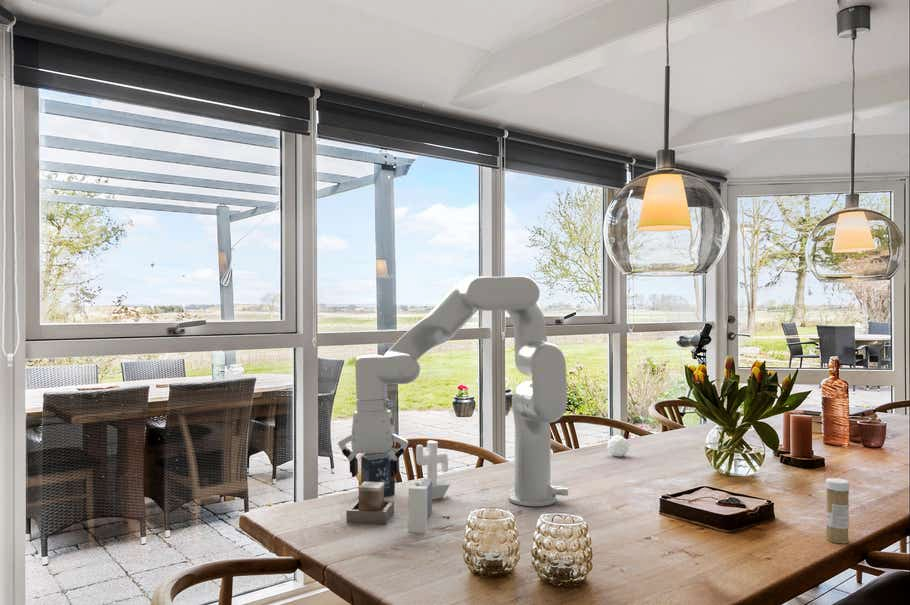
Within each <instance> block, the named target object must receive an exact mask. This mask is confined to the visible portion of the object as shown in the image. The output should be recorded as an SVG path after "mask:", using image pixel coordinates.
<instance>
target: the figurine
mask: <svg viewBox="0 0 910 605" xmlns="http://www.w3.org/2000/svg"><path fill="white" fill-rule="evenodd" d="M426 441H427V442H426V452H427V453H425V454H424V446H423V445H422V444H417V445H416V447H415V450H416V451H415V456H416V457H415V458H416V460H415V462H416V464H417V465H418V466H420V467H421V466H422V467H423V466H426V471H427V473H426V479H431V480H432V500H435V499H436V500H437V499H442V498H444V497H445V495H446V493H447V491H448V489H449V487H450V486H451V483H448V482H447V481H444V480H442V479H440V478H438V465H439V464H440V470H441V472H443V473H447V472H448V471H449V457H448V454H447V452H444V451H443V452H442V451H440V452H438V448H439V447H438V446H439V442H438V441H437V440H433V439H431V440H426ZM423 481H424V479H423V480H418V481H414V486H420V485H421V484H422V482H423Z"/></svg>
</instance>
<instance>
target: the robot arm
mask: <svg viewBox="0 0 910 605" xmlns="http://www.w3.org/2000/svg"><path fill="white" fill-rule="evenodd" d="M540 292H541V291H540V287H539V285H538V283H537V281H536V280H534V279H533V278H532V277H529V276H526V275H517V276H516V275H515V276H514V275H513V276H511V275H510V276H473V277H472V276H471V277H466V278H463V279H462V280H460V281H459V282H458V283H457V284H456V285H455V286H454V287H453V288H452V289H451V290H450V291H449V292H448V293H447V294H446V295H445V296H444V297H443V299H441V300H440V301H439V303H437V305H436V306H435V307H433V309H432V310H431V311H430V312H429V313H428V314H426V315H425V317H424V318H422V319H421V320H420V321H418V322H416V324H414V325H413V327H411V328H410V329H409V330H408V331H406V332H405V333H404V334H403V335H401V337H399V339H398V340H397V341H395V343H394V344H393V345H391V347H390V348H389V349H388V350H387V351H386V352H385V353H384V355H381V354H363V355H359V356H357V357H356V358H355V361H354V363H355V366H354V367H355V370H354V371H355V395H356V397H355V398H356V399H355V401H356V402H355V403H356V404H355V405H356V410H355V411H354V412H353V417H352V425H351V434H350V435H349V436H346V437H345V438H343V439H341V440H340V441H338V442H337V445H338V447H339V448H340V450H341V453H342V454H343V455H344V456H345V457H346V458H347V460H348V461H349V462H348V463H349V473H350V474H351V478H355V477H356V476H358V475H359V474H358V473H359V466H358V465H359V462H358V460H359V459H358V458H357V455H358V454H383V453H387V454H388V455H389V456H390V457H391V458H392V460H391V461H390V469H391V477H394V476H395V477H396V475H397V474H398V473H399V458H400V457H401V456H402V455H403V454H404V453H405V451H406V449H407V447H408V445H409V440H407V439H406V438H403V437H401V436H400V435H398V434H395V433H396V432H395V425H394V418H393V413H392V410H391V409H389V408H390V407H393V406H394V400H389V397H388V384H395V385H398V384H399V385H407V384H410V383H413V382H414V381H415V380H417V378H418V377H419V375H420V371H421V366H420V362H419V361H418V360H419V359H420V358H422V356H423V355H425V354H426V353H427V352H428V351H430V350H431V349H433V348H435V347H438V346H440V345H442V344H444V343H446V342H448V341H450V340H451V339H453V337H455V335H457V333H458V332H459V331H460V330H461V329H462V328H463V327H464V326H465V325H466V324H467V322H468V321H470V320H471V318H472V317H473V316H474V315H475V313H477V312H478V311H481V312H482V311H487V312H489V311H490V312H493V311H495V312H496V311H498V312H499V311H500V312H501V311H506V313H508V315H509V317H510V319H511V320H512V325H513V332H514V335H513V336H514V362H515V367H516V370H517V371H518V372H519V373H521V374H522V375H525V376H528V377H531V380H527V381H523V382H520V383H519V384H518V385H517V386H516V387H515V389H514V390H513V392H512V396H511V406H512V407H511V408H512V414H513V422H514V490H513V491H512V492H510V493H509V494H508V500H509V502H511V503H513V504H515V505H518V506H523V507H547V506H550V505H554V504H555V503H556V502H557V496H566V497H567V496H569V488H568V487H563V486H555V485H554V484H553V483H552V482H553V481H552V479H551V473H552V472H551V470H552V469H551V467H552V465H551V463H552V462H551V461H552V460H551V458H552V457H551V456H552V454H551V450H552V449H551V446H552V445H551V444H552V442H551V441H552V433H551V426H550V423H554V422H557V421H559V420H560V419H561V418H562V417H563V416H564V414H565V412H566V410H567V405H568V404H567V403H568V390H567V388H568V387H567V386H568V385H567V384H568V383H567V365H566V358H565V355H564V353H563V352H562V350H561V348H559V346H557V345H556V344H554V343H552V342H548V338H547V328H546V327H547V326H546V318H545V314H544V311H543V309H542V306H541V304H540V303H539V301H538V300H539V298H540V295H541V294H540ZM349 442H350V443H351V449H352V451H351V450H350V449H349V448H348V447H347V444H348V443H349ZM396 443H398V444H400V448H399V450H398V451H397V450H396V448H395V447H396Z"/></svg>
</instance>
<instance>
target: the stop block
mask: <svg viewBox="0 0 910 605" xmlns="http://www.w3.org/2000/svg"><path fill="white" fill-rule="evenodd" d="M384 486H385V482H363V483H362V484H361V483H360V485H359V486H358V488H357V490H358V499H359V510H376V511H383V509H384V500H385V496H384Z"/></svg>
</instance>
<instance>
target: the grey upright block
mask: <svg viewBox="0 0 910 605" xmlns="http://www.w3.org/2000/svg"><path fill="white" fill-rule="evenodd" d="M423 480H424V481H423ZM423 480H422V481H423V482H422V484H421V485H420V486H416V485H410V486H409V487H408V503H407V504H408V526H407V527H408V530H407V531H408V533H419V534H420V533H421V534H424V533H425V534H426V533H427V532H428V521H429V519H430V516H431V514H432V513H433V499H432V480H431V479H427V478H425V479H423Z"/></svg>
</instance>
